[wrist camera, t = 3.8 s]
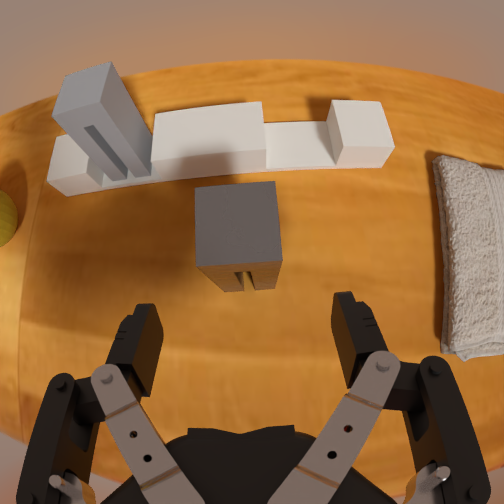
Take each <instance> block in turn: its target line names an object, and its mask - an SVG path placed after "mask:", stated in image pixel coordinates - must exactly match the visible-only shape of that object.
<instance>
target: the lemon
mask: <svg viewBox="0 0 504 504" xmlns="http://www.w3.org/2000/svg"><path fill="white" fill-rule="evenodd" d="M17 225H18V213H17V209H16V206H15V204H14V202H13V201H12V199H11V198H10V197H9V195H8V194H6V193H5V192H4V191H2V190H0V247H1V246H3V245H5V244H6V243H8V242H9V241H10V240H11V238H12V237H13V235H14V234H15V231H16V229H17Z"/></svg>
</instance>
